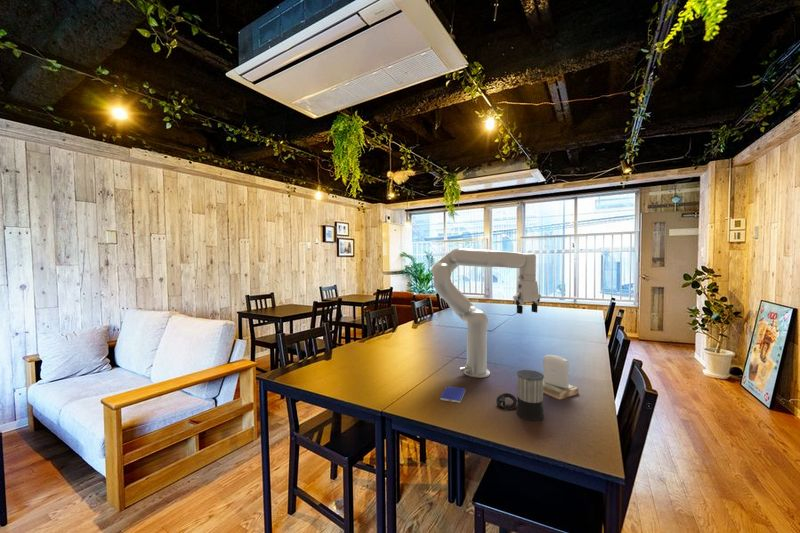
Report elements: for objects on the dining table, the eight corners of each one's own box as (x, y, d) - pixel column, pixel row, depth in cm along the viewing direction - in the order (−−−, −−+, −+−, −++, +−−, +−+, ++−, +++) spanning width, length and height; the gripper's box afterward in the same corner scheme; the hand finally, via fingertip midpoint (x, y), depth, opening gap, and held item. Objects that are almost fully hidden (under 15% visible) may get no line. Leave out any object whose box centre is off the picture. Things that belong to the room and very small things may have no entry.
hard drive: (446, 385, 139) (440, 397, 128) (465, 388, 137) (460, 400, 125) (446, 389, 140) (440, 401, 128) (465, 391, 137) (460, 404, 125)
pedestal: (558, 399, 127) (558, 392, 127) (534, 388, 138) (534, 382, 138) (578, 393, 133) (578, 387, 133) (553, 383, 143) (553, 377, 143)
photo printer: (541, 382, 138) (541, 353, 138) (546, 379, 141) (546, 352, 141) (565, 389, 130) (565, 359, 130) (570, 387, 133) (570, 357, 132)
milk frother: (547, 422, 110) (547, 379, 109) (499, 418, 113) (499, 376, 112) (537, 404, 124) (537, 366, 123) (495, 400, 127) (495, 363, 126)
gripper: (519, 279, 150) (519, 315, 151) (546, 278, 157) (546, 312, 158) (508, 278, 157) (508, 312, 158) (534, 277, 164) (534, 310, 165)
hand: (527, 312), depth 158 cm, fingers open, 9 cm apart
